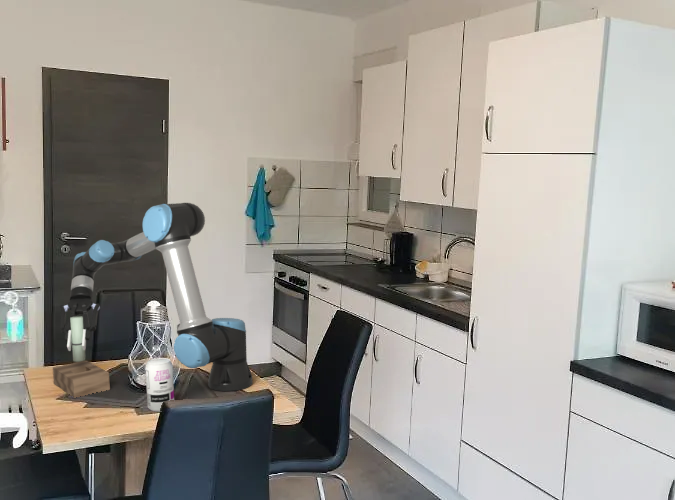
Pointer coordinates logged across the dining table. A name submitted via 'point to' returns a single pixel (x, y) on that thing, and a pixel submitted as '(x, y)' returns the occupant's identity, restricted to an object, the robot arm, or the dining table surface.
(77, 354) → the peg
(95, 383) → the socket block
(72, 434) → the dining table surface
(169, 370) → the supplement can
